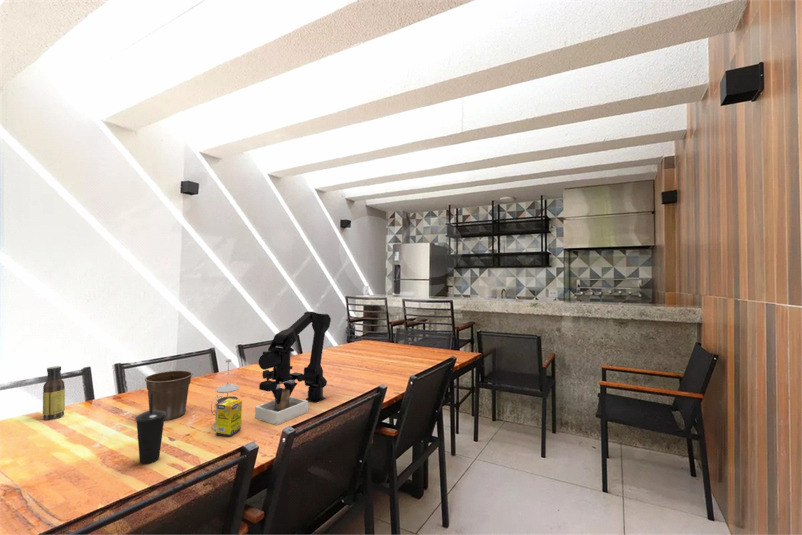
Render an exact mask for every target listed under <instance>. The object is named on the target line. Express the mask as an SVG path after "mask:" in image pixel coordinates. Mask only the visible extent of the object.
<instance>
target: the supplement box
mask: <svg viewBox="0 0 802 535" xmlns="http://www.w3.org/2000/svg"><path fill="white" fill-rule="evenodd" d="M242 403H243V400H241V399H237V400H236V399H230V398H228V399H227V400H225V401H223V402H221V403H219V404H217V403H216V404H217V424H216V430H215V434H216V435H217V436H223V437H224V436H225V437H229V438H230V437H232V436H233V435H235V434H236V433H237V432H238V431H241V428H242V427H241V425H242V409H243V408H242V407H243V404H242Z"/></svg>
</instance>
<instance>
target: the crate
mask: <svg viewBox="0 0 802 535" xmlns="http://www.w3.org/2000/svg"><path fill="white" fill-rule="evenodd" d="M290 402H293V403H296V404H297V405H294V406H292V407H289V408H287V409H284V410H280V411H279V412H275V411H272V410H268V409H266V408H268V407H271V406H274V405H275V399H273V400H270V401H267V402H265V403H262V404H258V405H256V406H254V419H256V420H260V421H263V422H266V423H269V424H272V425H275V426H278V425H281V424H282V423H283V424H284V423H285V422H288V421H290V420H292V419H295V418H297V417H300V416H302V415H304V414H307V413H308V412H309V401H308V400H306V399H301V398H298V397H293V396H290Z"/></svg>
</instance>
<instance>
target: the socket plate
mask: <svg viewBox="0 0 802 535" xmlns="http://www.w3.org/2000/svg"><path fill="white" fill-rule="evenodd" d="M294 405H297V404H296V403H293V402H290V404H289V407H292V406H294ZM289 407H288V408H289ZM266 409H268V410H272V411H275V412H279V411H280V409H276V408H275V405H274V406H271V407H268V408H266ZM286 409H287V408H286ZM283 410H284V409H283Z"/></svg>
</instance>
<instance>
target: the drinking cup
mask: <svg viewBox="0 0 802 535" xmlns="http://www.w3.org/2000/svg"><path fill="white" fill-rule="evenodd" d="M165 415H166V412H165V411H161V410H153V394H150V410H146V411H144V412H142V413H140V414H137V415H135V417H134V418H135V421H136V428H137V429H136V432H137V444H138V446H137V447H138V454H139V455H138V456H139V464H140V465H149V464H150V465H151V464H152V462H153V463H156V462H157V461H158V460H159V459H160V456H161V455H160V453H161V448H162V447H161V446H162V439H163V434H164V433H163V431H164V424H165V421H164V418H165Z"/></svg>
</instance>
